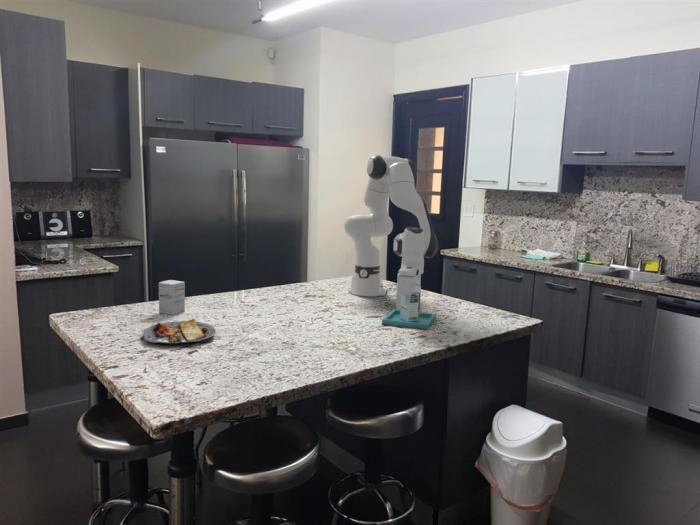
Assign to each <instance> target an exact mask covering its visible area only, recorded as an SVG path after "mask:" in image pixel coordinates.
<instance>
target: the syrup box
mask: <svg viewBox="0 0 700 525" xmlns="http://www.w3.org/2000/svg"><path fill="white" fill-rule="evenodd" d="M421 289H422V285H421V284H420V285H419V284H416V285H415V291H414V293H413V294H411V297H410V300H411V304H410V305H406V304H405V301H406V300H405V295H402V294H401V311H400V318H401V319H402V320H405V321H407V322H409V321H419V318H420V312H421V293H422V290H421Z"/></svg>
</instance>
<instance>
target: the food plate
mask: <svg viewBox="0 0 700 525" xmlns="http://www.w3.org/2000/svg"><path fill="white" fill-rule="evenodd" d="M142 332H143V338H144V340H145V341H146V342H150V343H156V344H158V343H159V344H168V345H173V344H174V345H176V344H177V345H178V344H188V343H196V342H201V341H203V340H206V339H208V338H211V337H213V336H214V335H215V334H216V333H217V332H216V329H215V328H214V327H213V325H211V324H208V323H206V322H200V321H197V320H196V319H195V318H192V319H190V320H184V321H177V320H176V321H168V322H162V323H161V322H157V324H154V325H151V326H148V327H146V328H145V329H144V330H143V331H142Z"/></svg>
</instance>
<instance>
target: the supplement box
mask: <svg viewBox="0 0 700 525" xmlns="http://www.w3.org/2000/svg"><path fill="white" fill-rule="evenodd" d="M185 285H186V282H185V281H180V280H173V279H168V280H167V279H166V280H163V281H160V282H158V313H159V314H165V315H170V316H177V315H179V314H182V313H184V312H185V310H186V303H185V302H186V301H185V300H186V299H185V298H186V297H185V296H186V295H185V294H186V292H185V291H186V286H185Z"/></svg>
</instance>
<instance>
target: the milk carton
mask: <svg viewBox="0 0 700 525" xmlns="http://www.w3.org/2000/svg"><path fill="white" fill-rule="evenodd" d="M397 272H398V273H397V282H396V297H395V298H396V301H395V309H396V310H401V276H402V275H400V269H399V270H398V271H397Z"/></svg>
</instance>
